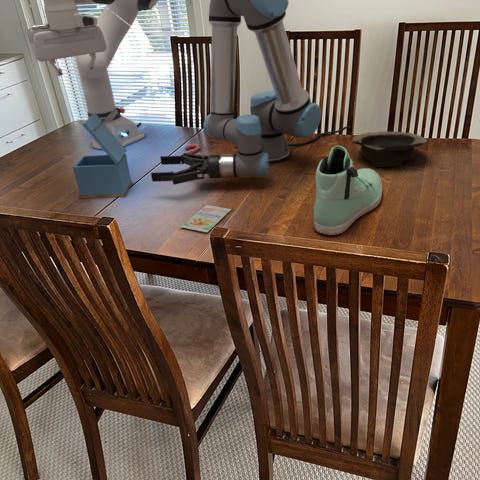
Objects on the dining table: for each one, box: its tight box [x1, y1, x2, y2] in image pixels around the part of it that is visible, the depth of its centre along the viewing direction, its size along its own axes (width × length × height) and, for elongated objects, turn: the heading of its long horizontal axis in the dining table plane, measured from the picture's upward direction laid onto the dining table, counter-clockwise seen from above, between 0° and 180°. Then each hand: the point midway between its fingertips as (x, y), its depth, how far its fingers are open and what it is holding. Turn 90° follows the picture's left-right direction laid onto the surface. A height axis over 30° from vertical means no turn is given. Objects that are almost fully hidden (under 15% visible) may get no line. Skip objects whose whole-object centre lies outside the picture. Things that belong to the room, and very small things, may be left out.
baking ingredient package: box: [180, 204, 232, 233], centre depth 139 cm, size 9×1×15 cm
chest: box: [72, 153, 133, 199], centre depth 159 cm, size 15×10×11 cm
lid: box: [81, 110, 127, 164], centre depth 151 cm, size 15×10×8 cm
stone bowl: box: [351, 131, 429, 168], centre depth 166 cm, size 25×25×9 cm
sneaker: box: [313, 145, 383, 236], centre depth 133 cm, size 14×35×20 cm, turn 152°
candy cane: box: [181, 143, 201, 155], centre depth 185 cm, size 6×15×2 cm, turn 145°
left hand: (76, 72), depth 141 cm, fingers open, 8 cm apart
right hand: (156, 168), depth 157 cm, fingers open, 13 cm apart
